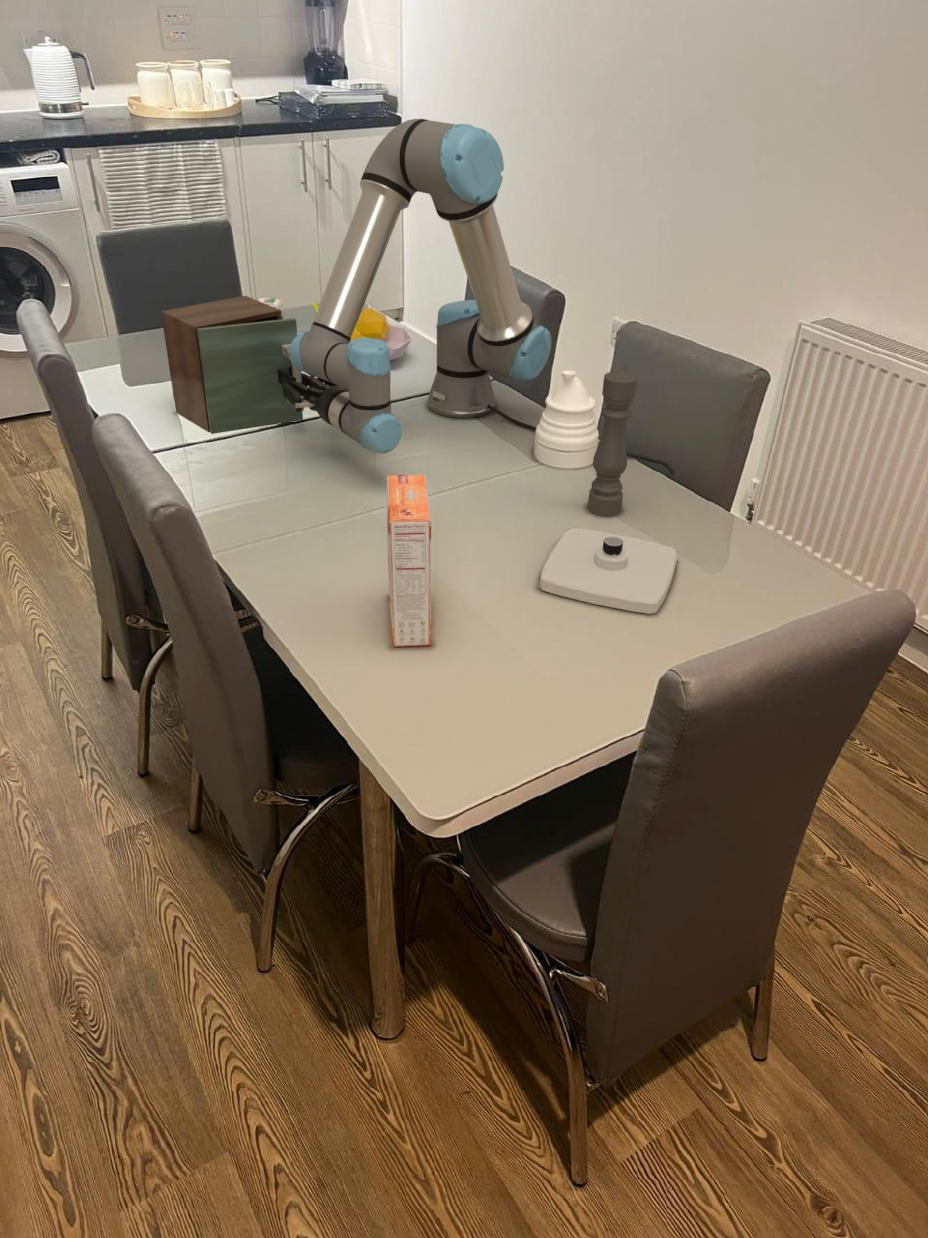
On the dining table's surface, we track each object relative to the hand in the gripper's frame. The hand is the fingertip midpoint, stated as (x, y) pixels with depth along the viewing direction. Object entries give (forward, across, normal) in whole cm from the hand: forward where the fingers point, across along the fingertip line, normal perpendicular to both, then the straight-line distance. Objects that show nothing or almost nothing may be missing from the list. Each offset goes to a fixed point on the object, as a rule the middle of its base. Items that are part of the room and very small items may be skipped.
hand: (285, 374), depth 195 cm
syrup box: (+40, +17, -11) cm, 45 cm away
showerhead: (-84, +13, -11) cm, 86 cm away
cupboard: (+13, -7, -11) cm, 18 cm away
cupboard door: (-1, -7, -11) cm, 13 cm away
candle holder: (-67, +29, -11) cm, 74 cm away
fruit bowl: (+30, +35, -11) cm, 48 cm away
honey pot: (-45, +39, -11) cm, 61 cm away
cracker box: (-77, -21, -11) cm, 80 cm away
